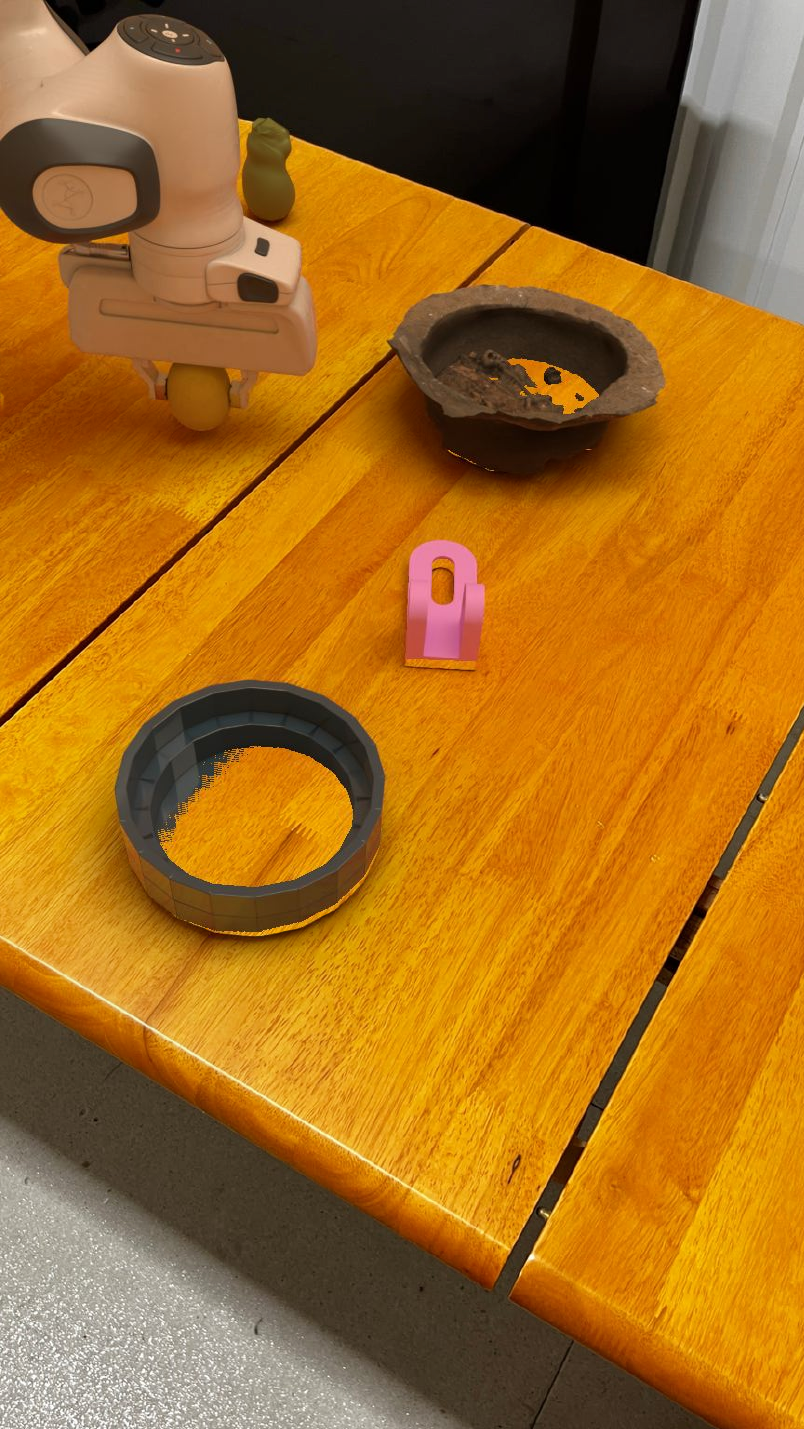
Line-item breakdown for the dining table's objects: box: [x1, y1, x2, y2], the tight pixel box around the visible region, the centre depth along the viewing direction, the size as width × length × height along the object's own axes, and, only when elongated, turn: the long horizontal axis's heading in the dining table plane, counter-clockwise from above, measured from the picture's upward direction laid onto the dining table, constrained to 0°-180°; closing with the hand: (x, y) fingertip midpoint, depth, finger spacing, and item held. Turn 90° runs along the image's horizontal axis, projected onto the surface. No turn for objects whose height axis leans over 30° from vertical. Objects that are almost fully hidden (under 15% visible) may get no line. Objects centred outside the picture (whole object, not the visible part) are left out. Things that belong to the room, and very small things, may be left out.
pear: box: [241, 117, 296, 222], centre depth 126 cm, size 6×5×10 cm
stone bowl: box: [385, 283, 666, 476], centre depth 111 cm, size 25×25×9 cm
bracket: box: [404, 539, 486, 662], centre depth 97 cm, size 13×6×7 cm, turn 179°
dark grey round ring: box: [113, 679, 386, 932], centre depth 83 cm, size 18×18×6 cm
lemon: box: [167, 362, 231, 432], centre depth 106 cm, size 6×6×8 cm
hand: (200, 400), depth 107 cm, fingers closed on lemon, 5 cm apart
